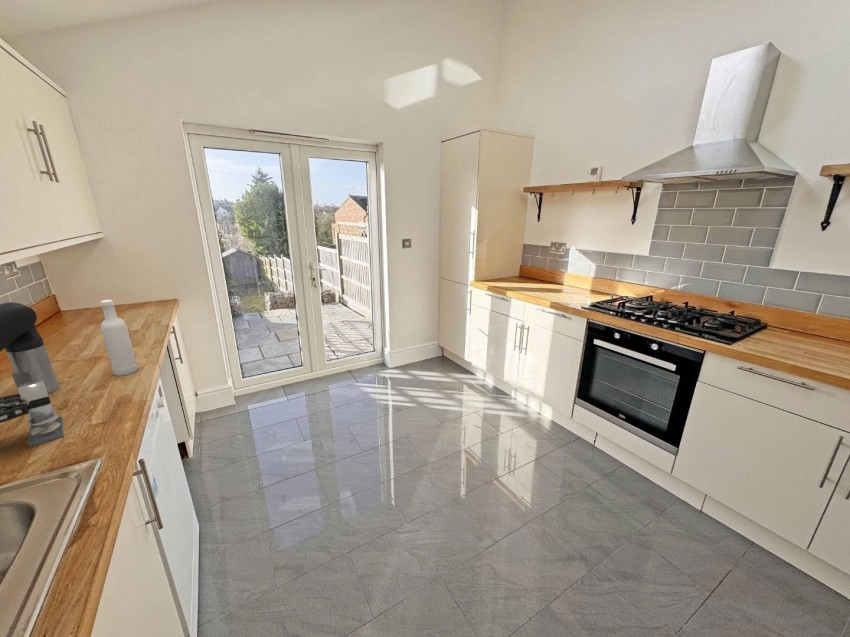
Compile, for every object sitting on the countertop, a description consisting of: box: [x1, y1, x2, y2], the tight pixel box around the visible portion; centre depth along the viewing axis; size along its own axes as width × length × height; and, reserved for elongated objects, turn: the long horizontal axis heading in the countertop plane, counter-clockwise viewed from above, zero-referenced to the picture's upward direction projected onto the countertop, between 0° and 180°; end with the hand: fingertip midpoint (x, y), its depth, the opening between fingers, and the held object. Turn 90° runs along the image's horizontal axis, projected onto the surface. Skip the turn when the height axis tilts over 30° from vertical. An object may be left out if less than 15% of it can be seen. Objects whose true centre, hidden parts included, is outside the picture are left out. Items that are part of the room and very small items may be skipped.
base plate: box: [27, 415, 65, 448], centre depth 107 cm, size 12×7×2 cm, turn 44°
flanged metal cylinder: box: [16, 380, 59, 428], centre depth 105 cm, size 6×6×12 cm
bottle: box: [100, 299, 139, 377], centre depth 143 cm, size 8×8×30 cm
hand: (48, 396), depth 106 cm, fingers closed on flanged metal cylinder, 5 cm apart
